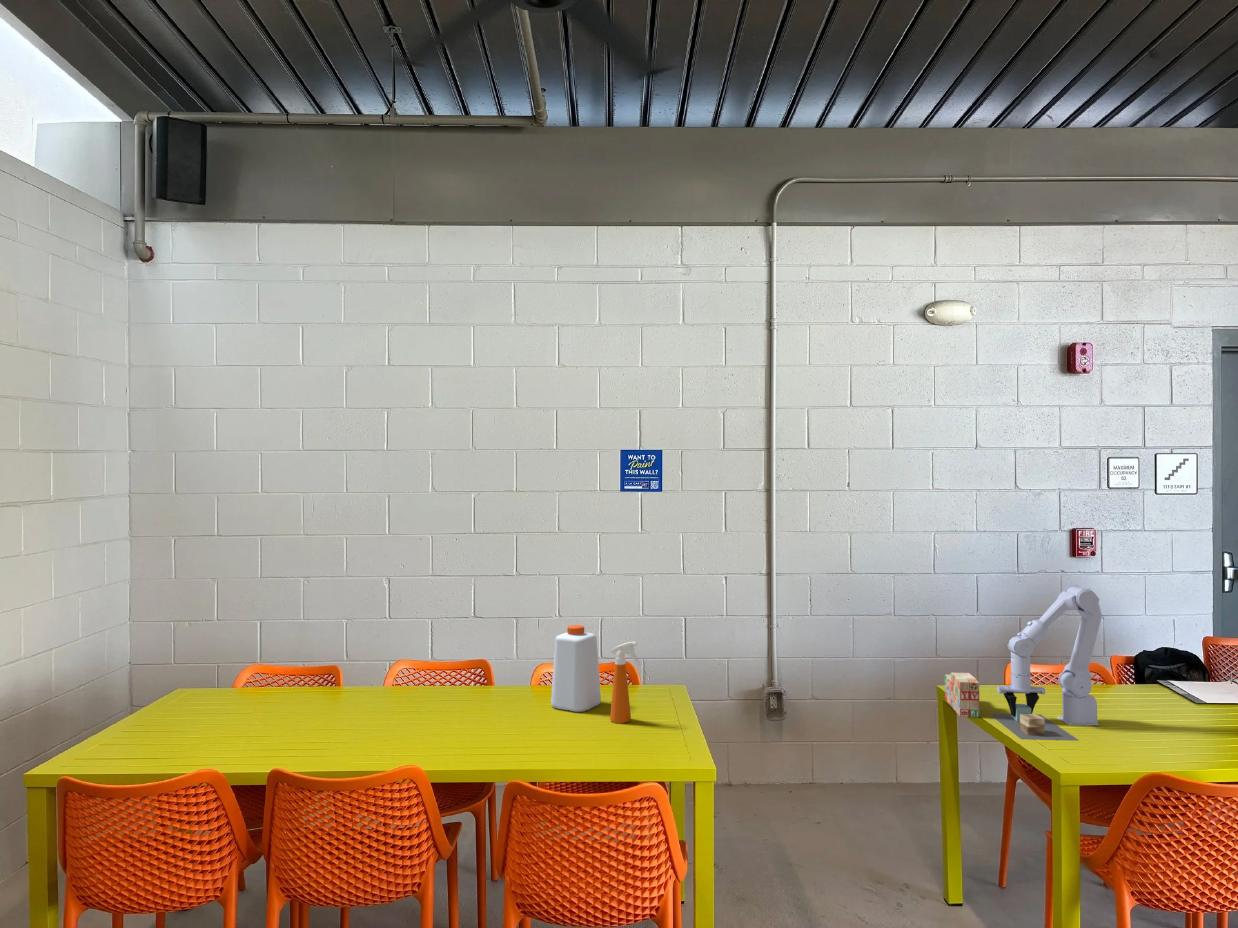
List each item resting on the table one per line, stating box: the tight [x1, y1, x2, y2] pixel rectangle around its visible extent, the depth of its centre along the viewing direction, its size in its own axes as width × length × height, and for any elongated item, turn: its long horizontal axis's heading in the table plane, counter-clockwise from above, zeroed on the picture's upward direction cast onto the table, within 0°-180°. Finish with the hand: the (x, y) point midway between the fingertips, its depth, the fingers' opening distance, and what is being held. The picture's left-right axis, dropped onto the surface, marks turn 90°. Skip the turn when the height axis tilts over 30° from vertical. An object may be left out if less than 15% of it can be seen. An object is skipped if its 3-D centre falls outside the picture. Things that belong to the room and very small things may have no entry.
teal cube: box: [1011, 703, 1031, 722], centre depth 258 cm, size 4×4×4 cm
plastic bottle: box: [550, 624, 602, 713], centre depth 278 cm, size 15×15×28 cm
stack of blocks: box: [944, 672, 980, 719], centre depth 271 cm, size 21×6×12 cm, turn 170°
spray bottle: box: [609, 641, 642, 724], centre depth 260 cm, size 7×11×26 cm, turn 78°
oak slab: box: [1020, 713, 1045, 727], centre depth 245 cm, size 5×5×2 cm
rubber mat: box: [988, 712, 1080, 742], centre depth 251 cm, size 17×26×1 cm, turn 175°
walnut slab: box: [1021, 723, 1044, 735], centre depth 245 cm, size 5×5×2 cm
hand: (1021, 715), depth 258 cm, fingers closed on teal cube, 4 cm apart
